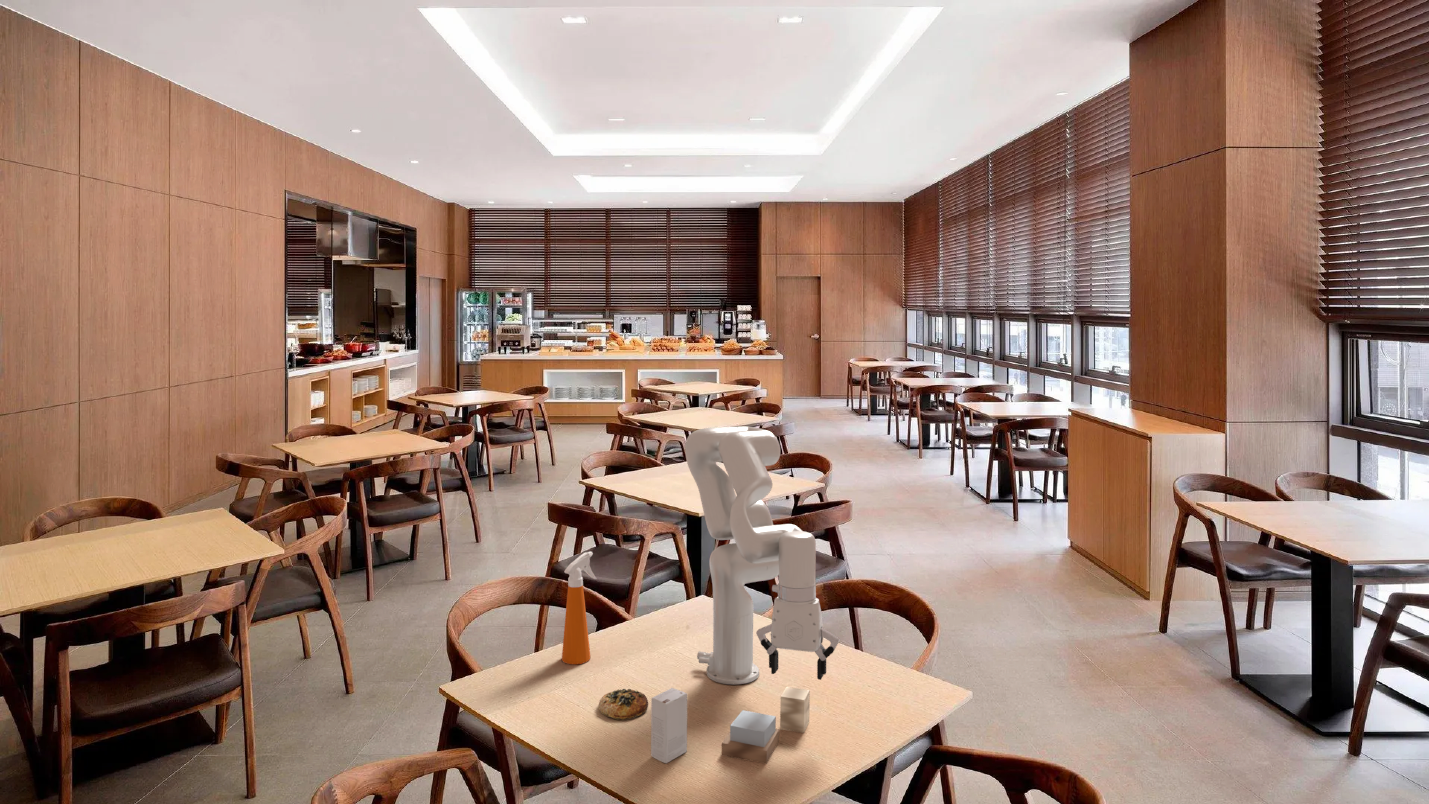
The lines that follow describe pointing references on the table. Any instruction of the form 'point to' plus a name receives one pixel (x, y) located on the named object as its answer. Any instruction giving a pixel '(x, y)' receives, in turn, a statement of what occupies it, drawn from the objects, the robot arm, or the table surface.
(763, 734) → the grey slab
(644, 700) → the bread roll
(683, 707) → the skincare box
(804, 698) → the beech block
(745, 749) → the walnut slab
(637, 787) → the table surface
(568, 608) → the spray bottle
